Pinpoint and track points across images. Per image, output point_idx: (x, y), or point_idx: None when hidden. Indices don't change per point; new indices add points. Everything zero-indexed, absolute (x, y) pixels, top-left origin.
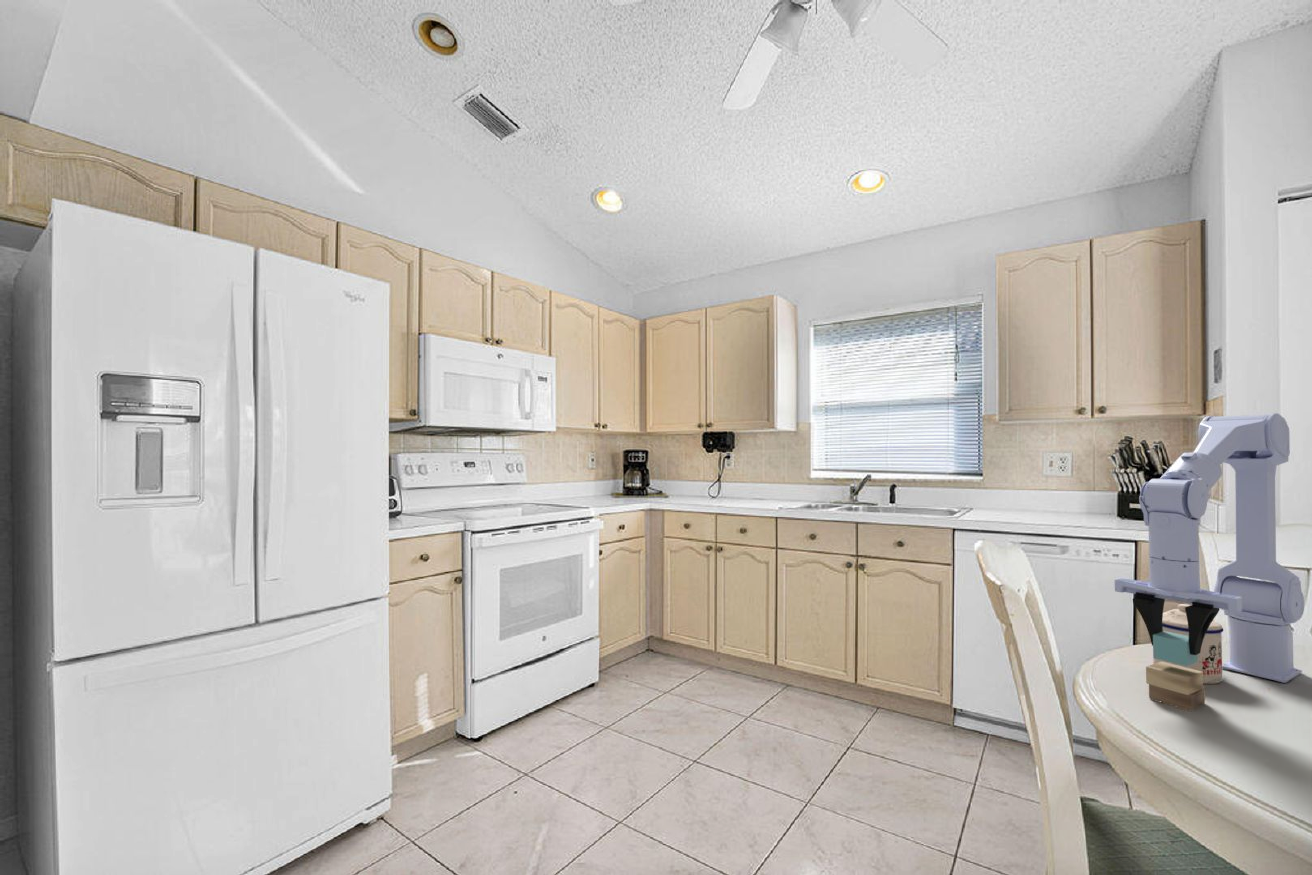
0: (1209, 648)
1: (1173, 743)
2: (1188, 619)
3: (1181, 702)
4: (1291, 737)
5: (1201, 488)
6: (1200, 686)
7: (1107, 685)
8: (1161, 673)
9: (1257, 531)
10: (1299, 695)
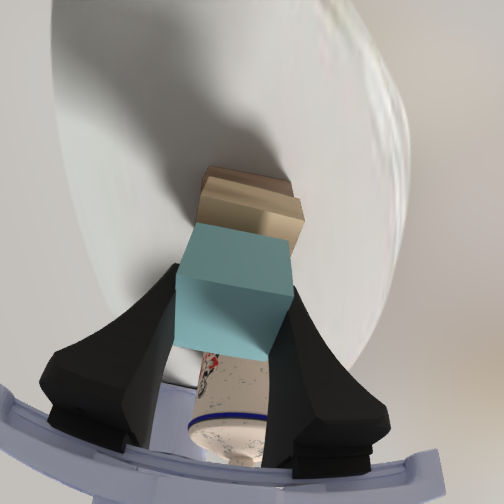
0: (205, 389)
1: None
2: (138, 352)
3: (227, 174)
4: (73, 163)
5: None
6: None
7: (369, 210)
8: (265, 207)
9: None
10: None
